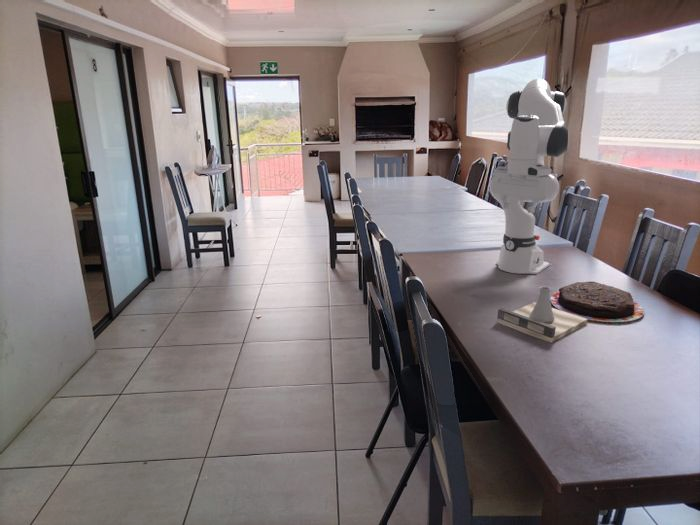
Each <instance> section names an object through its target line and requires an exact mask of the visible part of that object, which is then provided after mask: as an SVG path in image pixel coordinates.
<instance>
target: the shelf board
mask: <svg viewBox="0 0 700 525" xmlns="http://www.w3.org/2000/svg"><path fill="white" fill-rule="evenodd" d="M536 303H537V301H533V302H531V303H528V304H527V305H525V306H522V307H519V308H518V309H515V310H513V311H512V310H508V309H506V308H504V307H503V308H502V307H500V308H498V309H497V317H496V318H497V319H496V323H497V324H501V325H503V326H505V327H509V328H511V329H512V330H517V331H519V332H521V333H524V334H526V335H528V336H531V337H534V338H538V339H540V340H542V341H544V342H548V343H550V344H552V343H554V342H556V341H557V340H559V339H561V338H563V337H565V336H568V335H569V334H571V333H572V332H575V331H576V330H578V329H580V328H581V327H584V326H585V325H587V324H588V321H587V320H588V319H585V318H582V317H579V316H576V315H573V314H570V313H567V312H564V311H560V310H558V309H555V308H554V307H551V308H552V311H553V315H554V318H555V319H554V321H553V322H549V323H543V322H540V321H537V320H534V319H531V318H530V317H529V316H530V314H531V313H532V311H533V309H534V307H535V305H536Z"/></svg>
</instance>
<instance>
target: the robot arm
mask: <svg viewBox="0 0 700 525" xmlns="http://www.w3.org/2000/svg"><path fill="white" fill-rule="evenodd" d="M567 101H568V100H567V97H566V94H565V93H564V92H561V91H557V90H555V91H552V90H551V86H550V84H549V82H548V81H546V80H545V79H542V78H536V79H532V80H530V81H528V83H527V84H526V85H525V86H524V88H523V90H518V91H514V92H512V93H511V94H510V95H509V97H508V99H507V101H506V113H507V116H508V117H509V118H511V119H513V121H512V125H511V129H510V131H509V132H507V141H506V142H507V144H506V148H507V149H508V150H509V154H508V159H507V166H502V165H499V166H497V167H496V168H495V169H494V170H493V177H492V178H491V180H490V182H489V192H490V195H491V196H492V197H493V198H494V199H495V200H496V201H497V202H498V203H499V204H500V206H501V208H502V209H503V213H504V218H505V230H504V234H503V237H502V243H503V244H501V246H500V252H499V256H498V260H497V261H496V263H495V264H496V265H497V266H498V267H497V268H498V269H499V270H501V271H503V272H506V273H512V274H528V275H529V274H531V275H537V274H539V273H540V272H542V271H544V270H545V269H547V268H548V267H549V266H550V263H549V262H548V261H546V260H544V258H545V253H544V251H543V250H542V249H541V248H540V247H539V246H538V245H537V244H536V243H537V242H536V241H539V240H540V239H541V238H540V235H537V234H535V226H536V217H535V214H534V213H535V212H536V207H537V206H538V204H539V203H547V202H552V201H553V200H555V198H557V197H558V194H559V192H560V182H559V181H558V179H557V177H556V176H554V175H553V174H552V168H551V167H549V166H547V165H545V161H544V160H545V158H544V157H545V156H546V157H553V158H554V157H555V158H558V157H560V156H561V155H563V154H564V153H566V152H567V150H568V148H569V145H570V132H569V129H568V127H567V126H566V121H565V118H564V114H565V111H566V110H567V105H568V102H567ZM521 202H524V203H532V204H531V206H528V207H527V209H526V208H524V207H523V206H522V205H521V204H522V203H521Z"/></svg>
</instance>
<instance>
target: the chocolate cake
mask: <svg viewBox="0 0 700 525" xmlns="http://www.w3.org/2000/svg"><path fill="white" fill-rule="evenodd" d="M549 298H550V304H551V307H552V308H554V309H557V310H560V311H564V312H567V313H570V314H573V315H576V316H579V317H582V318H585V319H588V320H587V323H588V322H589V323H590V322H592V323H593V322H594V323H595V322H596V323H600V324H607V323H608V324H610V325H622V324H626V323H630V322H634V321H637V320H640V319H641V318H642V317H644V315H645V310H644V308H643V306H641V304H639V303H638V302H636V301H635V300H634V299H633V296H632V294H631V293H630V292H629V291H626V290H623V289H620V288H617V287H614V286H611V285H607V284H604V283H599V282H596V281H583V282H578V281H577V282H574V283H571V284H568V285H565V286H562V287H560V288H559V289H558V291H556V292H554V293H553V294H552V295H551V296H549Z"/></svg>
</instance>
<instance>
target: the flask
mask: <svg viewBox="0 0 700 525" xmlns="http://www.w3.org/2000/svg"><path fill="white" fill-rule="evenodd" d="M538 289H539V296H538V298H537V301H536V305H535V307H534V309H533V311H532V313H531V314H530V316H529V317H530V318H531V319H534V320H537V321H540V322H543V323H549V322H553V321H554V319H555V318H554V315H553V311H552V308H553V307H552V305H551V302H550V291H552V288H551V287H549V286H540V287H539V288H538Z"/></svg>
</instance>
